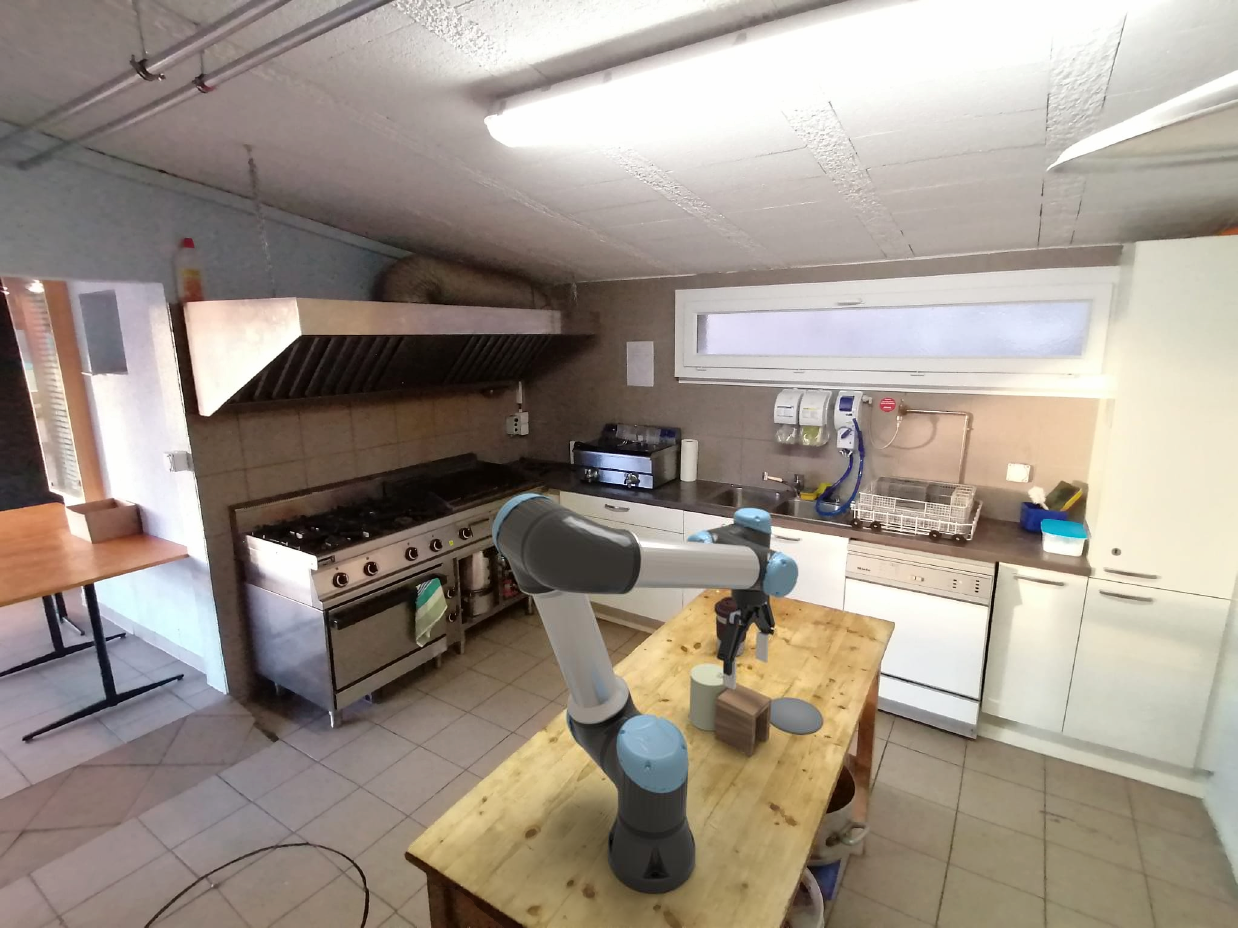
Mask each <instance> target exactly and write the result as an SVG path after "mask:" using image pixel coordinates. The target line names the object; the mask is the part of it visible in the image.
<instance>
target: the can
mask: <svg viewBox="0 0 1238 928" xmlns="http://www.w3.org/2000/svg"><path fill="white" fill-rule="evenodd" d="M689 674H690V677H689V678H690V683H689V684H690V685H689V713H688V719H689V721H690V723H691V724H692V725H693V726H694V727H696V728H698V729H700V730H703V731H708V732H710V731H711V732H715V724H716V699H717V697H719V696H720V695H721V694H722V693H724V692H725V691H726V690H727V689H728V688H729V687H727V686H725V685H723V666H721V665H719V664H715V663H700V664H697V665H695V666H693V667H692V668H691V669H690V671H689Z"/></svg>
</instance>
